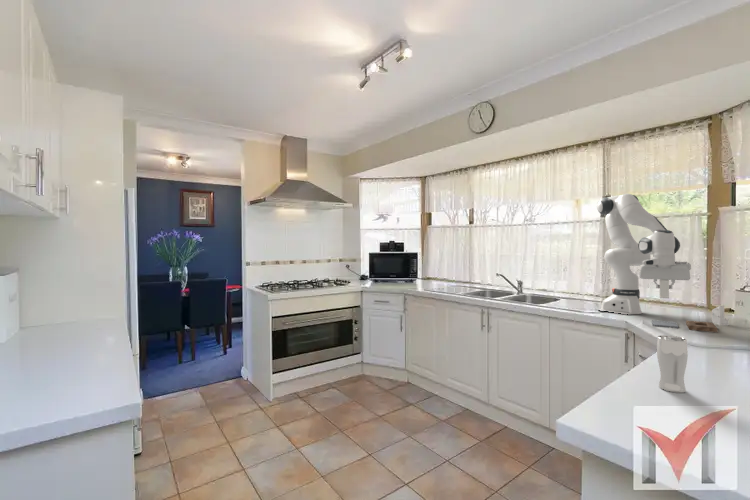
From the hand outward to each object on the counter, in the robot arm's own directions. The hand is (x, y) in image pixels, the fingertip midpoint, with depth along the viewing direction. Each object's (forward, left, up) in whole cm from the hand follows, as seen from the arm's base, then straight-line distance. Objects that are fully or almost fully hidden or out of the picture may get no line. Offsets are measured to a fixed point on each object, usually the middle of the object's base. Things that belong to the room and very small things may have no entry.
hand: (664, 288), depth 184 cm
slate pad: (0, 0, -19) cm, 19 cm away
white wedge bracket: (+23, +16, -19) cm, 34 cm away
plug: (0, 0, -5) cm, 5 cm away
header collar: (+14, 0, -19) cm, 23 cm away
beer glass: (-3, -100, -19) cm, 102 cm away
